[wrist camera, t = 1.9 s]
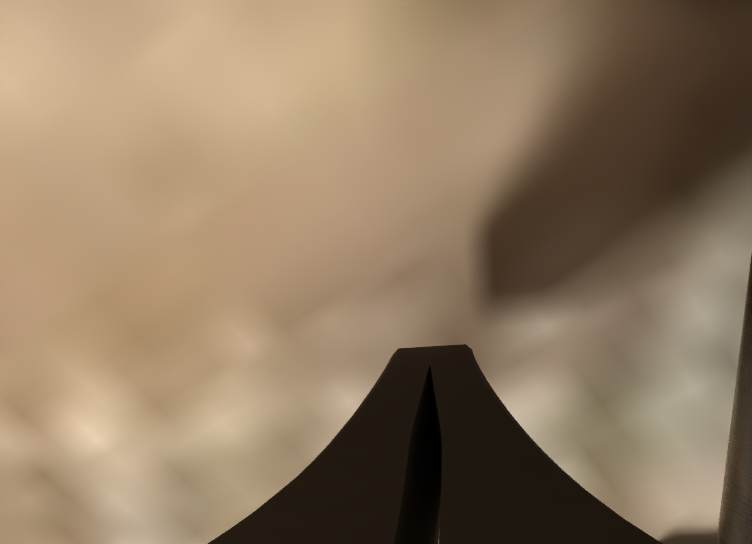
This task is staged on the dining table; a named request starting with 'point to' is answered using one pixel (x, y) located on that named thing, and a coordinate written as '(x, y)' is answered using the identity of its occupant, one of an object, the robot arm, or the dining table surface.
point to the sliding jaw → (740, 446)
